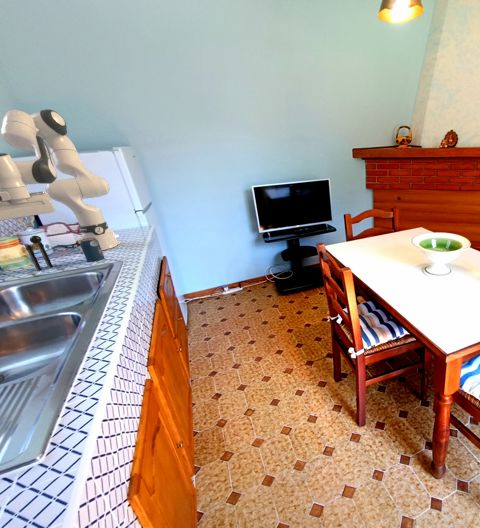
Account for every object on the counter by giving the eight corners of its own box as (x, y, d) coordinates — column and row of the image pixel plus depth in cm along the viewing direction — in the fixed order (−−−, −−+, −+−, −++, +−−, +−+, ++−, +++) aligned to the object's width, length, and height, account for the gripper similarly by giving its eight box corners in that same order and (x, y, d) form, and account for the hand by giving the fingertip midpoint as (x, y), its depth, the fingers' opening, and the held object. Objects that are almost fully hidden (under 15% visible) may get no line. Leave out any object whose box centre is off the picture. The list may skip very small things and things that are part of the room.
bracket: (62, 269, 143) (49, 242, 138) (37, 276, 136) (22, 248, 131) (54, 265, 149) (42, 239, 144) (29, 272, 142) (15, 244, 137)
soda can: (107, 260, 151) (99, 238, 147) (91, 265, 146) (81, 242, 141) (102, 258, 155) (93, 236, 150) (86, 263, 149) (76, 240, 145)
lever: (43, 240, 132) (39, 233, 132) (32, 243, 129) (28, 235, 129) (41, 250, 140) (37, 243, 140) (31, 252, 137) (27, 245, 137)
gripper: (45, 190, 134) (58, 220, 139) (-24, 198, 118) (-6, 232, 123) (49, 191, 131) (62, 222, 136) (-21, 199, 115) (-3, 233, 120)
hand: (29, 227), depth 129 cm, fingers closed
